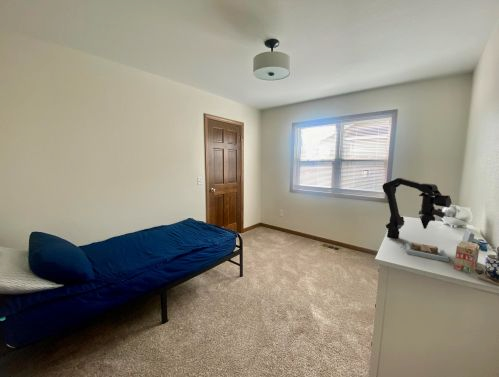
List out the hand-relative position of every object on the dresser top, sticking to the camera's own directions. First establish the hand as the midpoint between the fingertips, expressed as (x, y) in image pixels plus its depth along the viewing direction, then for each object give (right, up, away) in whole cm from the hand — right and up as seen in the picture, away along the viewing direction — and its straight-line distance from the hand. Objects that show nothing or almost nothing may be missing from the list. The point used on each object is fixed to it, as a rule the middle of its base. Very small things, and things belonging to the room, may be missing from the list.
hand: (424, 228), depth 132 cm
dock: (-7, -13, -8) cm, 17 cm away
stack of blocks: (+2, -15, -23) cm, 27 cm away
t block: (-6, -13, -7) cm, 16 cm away
